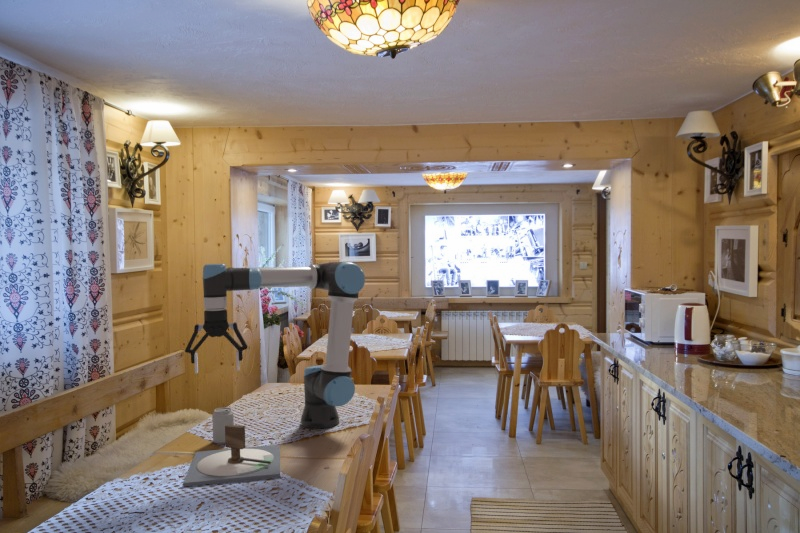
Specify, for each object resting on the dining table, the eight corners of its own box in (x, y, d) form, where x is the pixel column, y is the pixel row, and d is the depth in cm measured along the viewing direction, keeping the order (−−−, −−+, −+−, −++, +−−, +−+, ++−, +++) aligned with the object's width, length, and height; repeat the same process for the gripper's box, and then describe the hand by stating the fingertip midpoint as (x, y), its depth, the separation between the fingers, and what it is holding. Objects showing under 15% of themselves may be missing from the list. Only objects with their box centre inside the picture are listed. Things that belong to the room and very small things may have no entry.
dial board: (279, 447, 211) (279, 443, 211) (280, 477, 184) (280, 472, 184) (196, 455, 206) (196, 450, 206) (184, 486, 178) (184, 481, 178)
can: (228, 445, 215) (227, 412, 215) (209, 444, 217) (208, 411, 216) (238, 438, 223) (237, 406, 222) (219, 437, 224) (218, 406, 224)
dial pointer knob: (232, 457, 198) (231, 423, 198) (274, 462, 192) (273, 427, 192) (222, 462, 194) (221, 427, 193) (265, 468, 188) (264, 432, 187)
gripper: (253, 306, 210) (255, 367, 211) (178, 309, 205) (180, 371, 206) (252, 308, 203) (254, 371, 203) (175, 312, 198) (177, 376, 198)
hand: (217, 371), depth 204 cm, fingers open, 13 cm apart
